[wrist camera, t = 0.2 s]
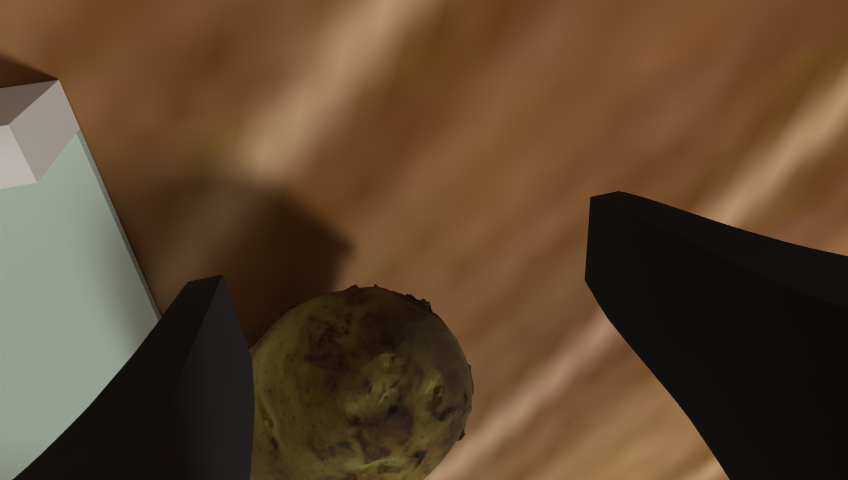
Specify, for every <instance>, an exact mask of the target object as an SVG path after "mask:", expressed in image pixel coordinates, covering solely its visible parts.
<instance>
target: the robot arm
mask: <svg viewBox="0 0 848 480" xmlns="http://www.w3.org/2000/svg"><path fill="white" fill-rule="evenodd" d="M585 281H586V283H587V285H588V287H589V288H590V290H591V292H592V293H593V295H594V297H595V299H596V300H597V302H598V304H599V305H600V307H601V308H602V310H603V312H604V313H605V315H606V316H607V318H608V319H609V321H610V322H611V323H612V324H613V326H614V327H615V328H616V329H617V331H618V332H619V333H620V334H621V335H622V337H623V338H624V339H625V340H626V342H627V343H628V344H629V345H630V346H631V348H632V349H633V350H634V351H635V353H636V354H637V355H638V356H639V357H640V358H641V360H642V361H643V362H644V363H645V364H646V366H647V367H648V368H649V369H650V370H651V372H652V373H653V374H654V375H655V376H656V378H657V379H658V380H659V381H660V382H661V384H662V385H663V386H664V387H665V388H666V390H667V391H668V392H669V393H670V394H671V396H672V397H673V398H674V399H675V400H676V402H677V403H678V404H679V406H680V407H681V408H682V410H683V411H684V412H685V414H686V415H687V416H688V417H689V419H690V420H691V421H692V423H693V424H694V426H695V427H696V429H697V430H698V432H699V433H700V435H701V436H702V438H703V439H704V441H705V442H706V444H707V445H708V447H709V448H710V450H711V451H712V453H713V454H714V456H715V457H716V459H717V460H718V462H719V463H720V465H721V466H722V468H723V470H724V471H725V473H726V474H727V476H728V478H729V479H730V480H848V256H844V255H839V254H835V253H830V252H826V251H821V250H817V249H812V248H808V247H804V246H800V245H796V244H792V243H788V242H784V241H780V240H777V239H773V238H770V237H766V236H763V235H759V234H756V233H752V232H749V231H745V230H742V229H739V228H736V227H732V226H729V225H726V224H723V223H720V222H717V221H714V220H711V219H708V218H705V217H702V216H699V215H696V214H693V213H690V212H687V211H684V210H681V209H678V208H675V207H672V206H669V205H666V204H663V203H660V202H657V201H653V200H650V199H647V198H644V197H640V196H637V195H633V194H629V193H625V192H620V191H617V192H612V193H607V194H603V195H598V196H593V197H591V198H590V212H589V226H588V241H587V255H586V270H585ZM254 414H255V399H254V382H253V368H252V358H251V355H250V352H249V349H248V346H247V343H246V340H245V338H244V335H243V332H242V329H241V326H240V323H239V320H238V317H237V314H236V311H235V309H234V306H233V303H232V300H231V297H230V294H229V291H228V288H227V285H226V283H225V280H224V277H223V275H218V276H214V277H209V278H204V279H199V280H195V281H190V282H188V283H187V284H186V285H185V286H184V288H183V289H182V290H181V291H180V293H179V294H178V295H177V297H176V298H175V300H174V301H173V302H172V304H171V305H170V306H169V308H168V309H167V310H166V312H165V313H164V314H163V316H162V317H161V319H160V320H159V321H158V323H157V324H156V325H155V327H154V328H153V329H152V330H151V332H150V333H149V334H148V336H147V337H146V338H145V340H144V341H143V342H142V343H141V345H140V346H139V347H138V349H137V350H136V351H135V353H134V354H133V355H132V356H131V358H130V359H129V360H128V361H127V362H126V363H125V365H124V366H123V367H122V368H121V369H120V370H119V372H118V373H117V374H116V375H115V376H114V377H113V379H112V380H111V381H110V382H109V383H108V384H107V386H106V387H105V388H104V389H103V390H102V391H101V393H100V394H99V395H98V396H97V397H96V398H95V400H94V401H93V402H92V403H91V404H90V405H89V406H88V407H87V408H86V409H85V410H84V412H83V413H82V414H81V415H80V416H79V417H78V418H77V419H76V420H75V421H74V422H73V423H72V424H71V425H70V426H69V427H68V428H67V429H66V430H65V431H64V432H63V433H62V434H61V435H60V436H59V437H58V438H57V439H56V440H55V441H54V442H53V443H52V444H51V445H50V446H49V447H48V448H47V449H46V450H45V451H44V452H43V453H42V454H40V455H39V456H38V457H37V458H36V459H35V460H34V461H33V462H32V463H31V464H30V465H29V466H27V467H26V468H25V469H24V470H23V471H22V472H21V473H19V474H18V475H17V476H16V477H15V478H14V479H12V480H250V474H251V460H252V446H253V431H254Z"/></svg>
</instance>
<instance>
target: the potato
mask: <svg viewBox="0 0 848 480" xmlns="http://www.w3.org/2000/svg"><path fill="white" fill-rule="evenodd" d="M249 352H250V355H251V358H252V368H253V382H254V399H255V414H254V431H253V446H252V460H251V474H250V480H423V479H424V478H425V477H427V476H428V475H429V474H430V473H431V472H432V471H433V470H434V469H435V468H436V467H437V466H438V465H439V464H440V463H441V461H442V460H443V459H444V458H445V456H446V455H447V454H448V452H449V451H450V450H451V448H452V447H453V445H454V444H455V442H456V441H459V440H461V439H462V438H463V437H464V435H465V433H464V428H465V425H466V422H467V419H468V416H469V413H470V412H471V409H472V406H471V404H472V395H473V392H474V385H473V380H472V375H471V366H470V365H469V364H468V363H467V360H466V358H465V355H464V353H463V351H462V349H461V347H460V345H459V343H458V341H457V339H456V338H455V336H454V335H453V334H452V332H451V331H450V330H449V328H448V327H447V326H446V324H445V323H444V322H443V321H442V319H441V318H440V317H439V316H438V315H437V314H435V313H433V311H432V309H431V305H430V302H429V301H428V302H426V300H425V299H422V300H417V299H416V298H415V297H414V296H412V295H409V294H406V295H403V294H400V293H397V292H394V291H389V290H387V289H385V288H381V287H378V286H377V285H376V284H375V286H374V287H363V288H358V286H357V285H354V286H351V287H349V288H348V289H346V290H343V291H337V292H332V293H328V294H325V295H321V296H318V297H315V298H313V299H310V300H308V301H306V302H304V303H302V304H300V305H298V306H295V305H293V306H292V307H290V308H288V309H287V310H285V311H282V313H281V314H280V315H279V317H278V318H277V319H276V320H275V323H274V324H273V325H272V326H271V327H270V328H269V329H268V330H267V331H266V333H265V334H264V335H263V336H262V337H261V338H260V339H259V340H258V342H257V343H256V344H255V345H253V346H252V347H251V348H250V349H249Z"/></svg>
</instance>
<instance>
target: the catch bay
mask: <svg viewBox="0 0 848 480" xmlns="http://www.w3.org/2000/svg"><path fill="white" fill-rule="evenodd" d="M160 319H161V316H160V313H159V311H158V309H157V306H156V304H155V302H154V299H153V297H152V295H151V292H150V290H149V288H148V286H147V283H146V281H145V279H144V276H143V274H142V272H141V269H140V267H139V265H138V262H137V260H136V258H135V255H134V253H133V251H132V248H131V246H130V244H129V241H128V239H127V237H126V234H125V232H124V230H123V228H122V225H121V223H120V221H119V218H118V216H117V214H116V211H115V209H114V207H113V204H112V202H111V200H110V197H109V195H108V193H107V190H106V188H105V186H104V183H103V181H102V179H101V176H100V174H99V172H98V169H97V167H96V165H95V163H94V160H93V158H92V156H91V153H90V151H89V149H88V146H87V144H86V142H85V139H84V137H83V135H82V132H81V130H80V128H79V125H78V123H77V121H76V118H75V116H74V114H73V111H72V109H71V107H70V105H69V102H68V100H67V98H66V95H65V93H64V91H63V88H62V86H61V84H60V81H59V80H54V81H47V82H40V83H33V84H26V85H20V86H13V87H6V88H0V480H12V479H14V478H15V477H16V476H17V475H18V474H19V473H21V472H22V471H23V470H24V469H25V468H26V467H27V466H29V465H30V464H31V463H32V462H33V461H34V460H35V459H36V458H37V457H38V456H39V455H40V454H42V453H43V452H44V451H45V450H46V449H47V448H48V447H49V446H50V445H51V444H52V443H53V442H54V441H55V440H56V439H57V438H58V437H59V436H60V435H61V434H62V433H63V432H64V431H65V430H66V429H67V428H68V427H69V426H70V425H71V424H72V423H73V422H74V421H75V420H76V419H77V418H78V417H79V416H80V415H81V414H82V413H83V412H84V410H85V409H86V408H87V407H88V406H89V405H90V404H91V403H92V402H93V401H94V400H95V398H96V397H97V396H98V395H99V394H100V393H101V391H102V390H103V389H104V388H105V387H106V386H107V384H108V383H109V382H110V381H111V380H112V379H113V377H114V376H115V375H116V374H117V373H118V372H119V370H120V369H121V368H122V367H123V366H124V365H125V363H126V362H127V361H128V360H129V359H130V358H131V356H132V355H133V354H134V353H135V351H136V350H137V349H138V347H139V346H140V345H141V343H142V342H143V341H144V340H145V338H146V337H147V336H148V334H149V333H150V332H151V330H152V329H153V328H154V327H155V325H156V324H157V323H158V321H159V320H160Z"/></svg>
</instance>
